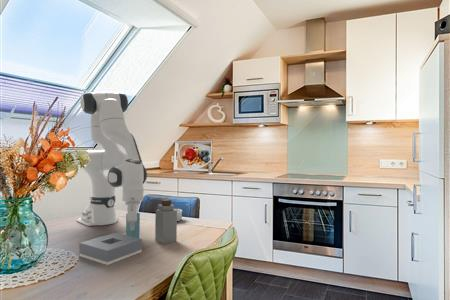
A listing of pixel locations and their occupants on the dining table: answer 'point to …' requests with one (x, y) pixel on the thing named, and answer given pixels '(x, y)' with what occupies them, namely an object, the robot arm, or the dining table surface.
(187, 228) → the dining table surface
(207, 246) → the dining table surface
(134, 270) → the dining table surface
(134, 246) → the socket block
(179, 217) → the saucepan
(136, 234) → the peg
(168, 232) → the perfume bottle
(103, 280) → the dining table surface
